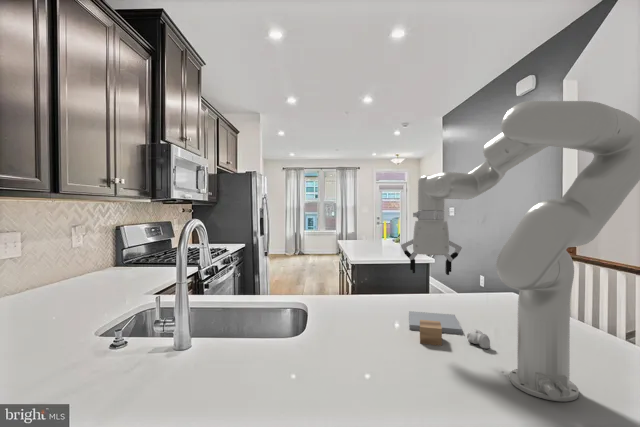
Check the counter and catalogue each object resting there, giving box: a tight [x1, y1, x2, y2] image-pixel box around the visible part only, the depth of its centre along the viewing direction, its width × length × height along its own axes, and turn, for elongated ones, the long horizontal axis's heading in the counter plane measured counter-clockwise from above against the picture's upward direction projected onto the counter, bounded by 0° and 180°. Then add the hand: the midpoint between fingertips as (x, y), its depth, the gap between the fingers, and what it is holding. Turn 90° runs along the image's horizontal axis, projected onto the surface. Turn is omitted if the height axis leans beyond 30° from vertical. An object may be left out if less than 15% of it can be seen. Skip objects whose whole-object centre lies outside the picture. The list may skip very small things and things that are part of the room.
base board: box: [408, 310, 463, 335], centre depth 115 cm, size 16×16×2 cm
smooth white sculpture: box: [466, 329, 491, 350], centre depth 97 cm, size 4×8×5 cm
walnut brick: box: [419, 320, 443, 347], centre depth 100 cm, size 7×6×5 cm
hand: (430, 273), depth 100 cm, fingers open, 9 cm apart
